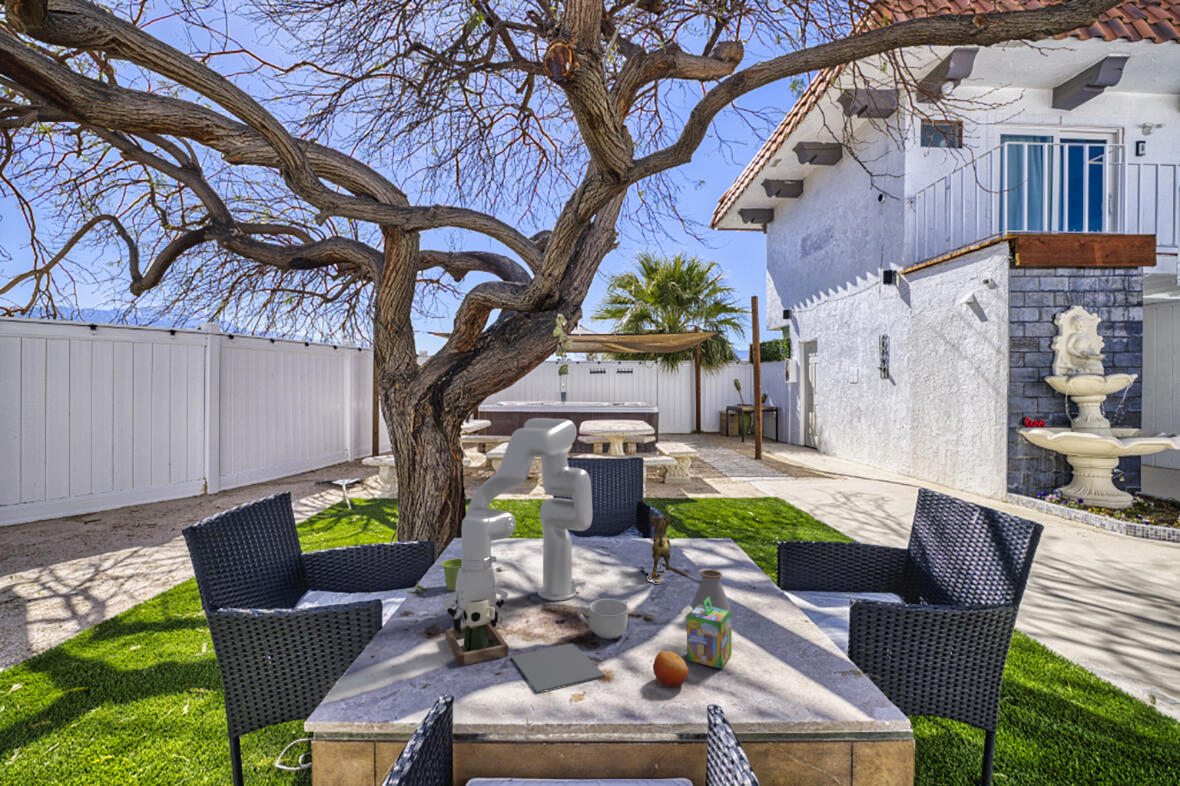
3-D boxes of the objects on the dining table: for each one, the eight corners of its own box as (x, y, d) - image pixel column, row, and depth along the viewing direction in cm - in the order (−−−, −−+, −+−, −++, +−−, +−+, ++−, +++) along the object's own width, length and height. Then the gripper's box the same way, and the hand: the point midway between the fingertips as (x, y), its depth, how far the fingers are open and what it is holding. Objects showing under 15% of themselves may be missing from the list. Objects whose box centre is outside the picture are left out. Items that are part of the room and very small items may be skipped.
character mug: (450, 649, 146) (450, 599, 146) (465, 638, 152) (465, 590, 152) (487, 656, 142) (487, 605, 142) (500, 644, 149) (501, 595, 149)
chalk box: (721, 670, 136) (721, 609, 136) (685, 660, 141) (686, 601, 141) (733, 655, 144) (733, 597, 144) (699, 646, 149) (699, 590, 148)
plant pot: (435, 590, 188) (435, 564, 188) (452, 581, 197) (452, 557, 197) (459, 594, 185) (459, 568, 185) (475, 585, 193) (475, 560, 193)
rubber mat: (573, 645, 149) (573, 643, 149) (604, 676, 132) (604, 674, 132) (511, 658, 141) (511, 656, 141) (536, 693, 125) (536, 691, 125)
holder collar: (490, 630, 157) (490, 621, 157) (508, 655, 143) (508, 645, 143) (445, 638, 152) (445, 629, 152) (459, 666, 137) (459, 655, 137)
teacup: (632, 629, 159) (632, 601, 159) (621, 646, 148) (622, 615, 148) (586, 622, 163) (586, 595, 163) (572, 638, 153) (572, 608, 153)
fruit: (642, 669, 133) (659, 640, 134) (670, 685, 134) (687, 656, 134) (648, 687, 125) (667, 656, 126) (678, 704, 126) (696, 673, 126)
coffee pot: (729, 610, 173) (729, 561, 173) (731, 625, 162) (731, 573, 162) (660, 604, 177) (660, 557, 177) (657, 619, 166) (657, 568, 166)
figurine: (675, 563, 218) (676, 512, 218) (674, 586, 194) (675, 527, 194) (642, 562, 221) (643, 510, 220) (637, 583, 196) (637, 525, 196)
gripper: (503, 555, 154) (503, 617, 154) (439, 563, 147) (439, 629, 147) (512, 563, 147) (512, 628, 148) (445, 572, 140) (445, 641, 140)
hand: (475, 628), depth 147 cm, fingers open, 9 cm apart
